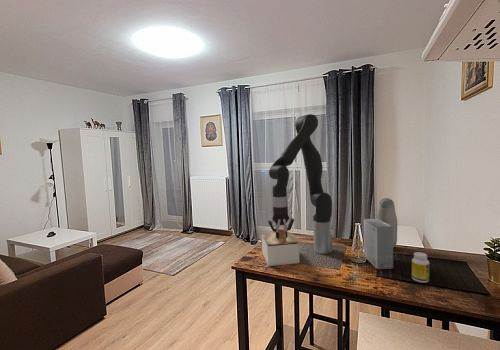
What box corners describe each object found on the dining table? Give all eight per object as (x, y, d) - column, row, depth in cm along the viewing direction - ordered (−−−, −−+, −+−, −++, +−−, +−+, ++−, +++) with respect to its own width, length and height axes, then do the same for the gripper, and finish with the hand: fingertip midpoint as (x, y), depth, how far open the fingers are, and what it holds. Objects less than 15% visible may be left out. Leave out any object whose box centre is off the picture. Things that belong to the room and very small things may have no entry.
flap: (289, 232, 148) (288, 221, 148) (298, 242, 131) (298, 229, 130) (261, 235, 147) (260, 223, 146) (267, 245, 129) (266, 232, 128)
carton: (289, 249, 149) (289, 232, 148) (299, 262, 132) (298, 243, 131) (262, 252, 148) (261, 235, 147) (268, 266, 130) (267, 246, 129)
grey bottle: (375, 244, 151) (375, 196, 148) (395, 245, 147) (395, 196, 145) (377, 250, 141) (377, 200, 139) (399, 252, 138) (399, 200, 135)
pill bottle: (429, 284, 105) (429, 258, 104) (411, 281, 109) (411, 255, 108) (428, 277, 111) (429, 252, 110) (411, 274, 114) (411, 250, 113)
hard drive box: (393, 269, 120) (393, 227, 118) (377, 269, 120) (376, 227, 118) (378, 255, 135) (377, 218, 134) (363, 256, 136) (362, 218, 134)
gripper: (291, 202, 135) (293, 235, 137) (265, 204, 134) (266, 237, 135) (296, 205, 128) (297, 239, 129) (267, 207, 126) (269, 242, 128)
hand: (281, 238), depth 132 cm, fingers closed on flap, 3 cm apart
